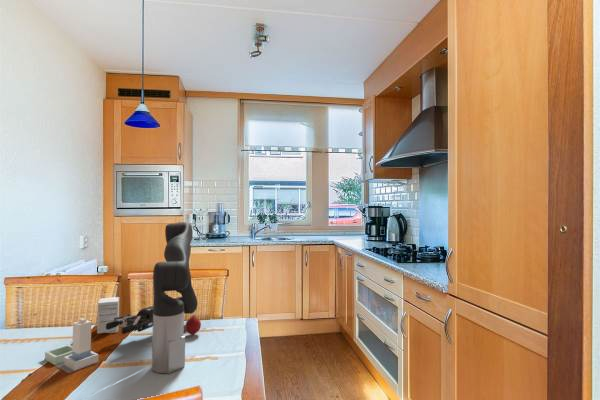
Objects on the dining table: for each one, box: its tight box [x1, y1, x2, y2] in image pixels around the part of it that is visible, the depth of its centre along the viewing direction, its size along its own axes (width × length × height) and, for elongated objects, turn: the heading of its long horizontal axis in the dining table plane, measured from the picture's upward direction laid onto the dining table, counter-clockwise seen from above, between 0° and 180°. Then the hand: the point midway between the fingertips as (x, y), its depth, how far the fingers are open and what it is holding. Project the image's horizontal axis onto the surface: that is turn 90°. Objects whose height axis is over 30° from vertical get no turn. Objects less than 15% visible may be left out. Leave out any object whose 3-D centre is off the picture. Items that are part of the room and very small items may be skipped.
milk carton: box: [71, 317, 92, 361], centre depth 106 cm, size 4×4×14 cm
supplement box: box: [96, 296, 120, 334], centre depth 135 cm, size 7×7×13 cm
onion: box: [184, 314, 202, 336], centre depth 132 cm, size 6×6×8 cm
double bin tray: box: [44, 344, 100, 374], centre depth 107 cm, size 17×9×3 cm, turn 58°
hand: (114, 328), depth 116 cm, fingers open, 8 cm apart
